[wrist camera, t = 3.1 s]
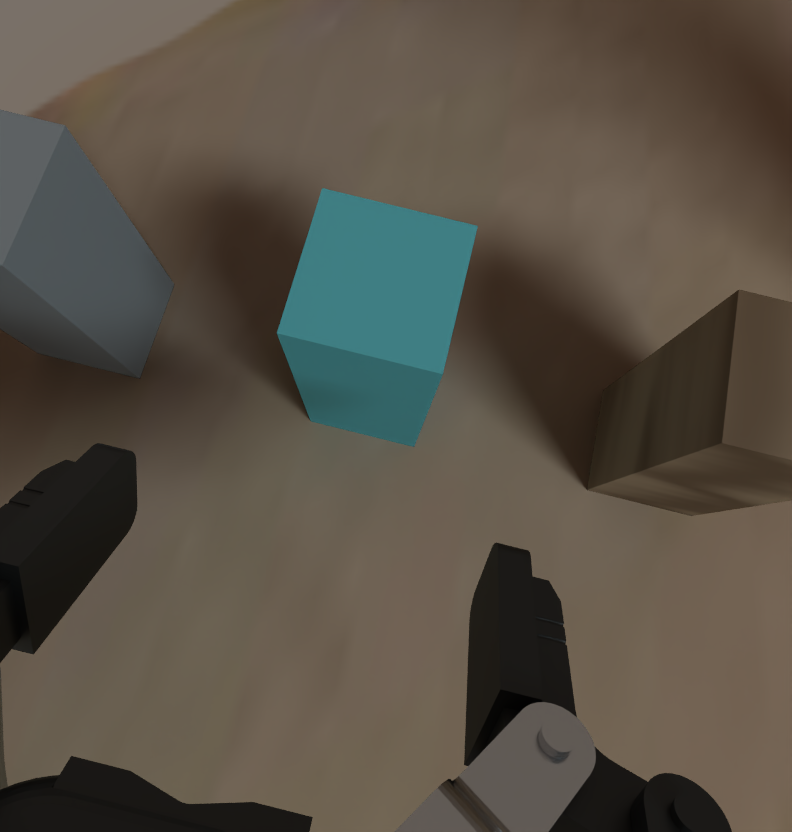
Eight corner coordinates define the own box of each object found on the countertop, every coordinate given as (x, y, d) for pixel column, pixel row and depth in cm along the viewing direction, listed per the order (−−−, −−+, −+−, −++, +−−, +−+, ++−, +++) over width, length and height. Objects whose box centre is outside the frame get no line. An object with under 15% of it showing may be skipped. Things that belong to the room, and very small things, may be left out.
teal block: (437, 349, 27) (477, 226, 17) (413, 446, 26) (442, 374, 16) (338, 325, 27) (322, 188, 17) (310, 421, 26) (276, 333, 16)
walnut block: (703, 415, 27) (897, 328, 17) (691, 516, 25) (891, 484, 16) (603, 390, 27) (738, 289, 17) (586, 489, 26) (721, 442, 16)
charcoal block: (174, 284, 27) (65, 125, 17) (140, 378, 26) (2, 265, 16) (76, 260, 27) (-88, 88, 17) (37, 353, 26) (-161, 225, 16)
